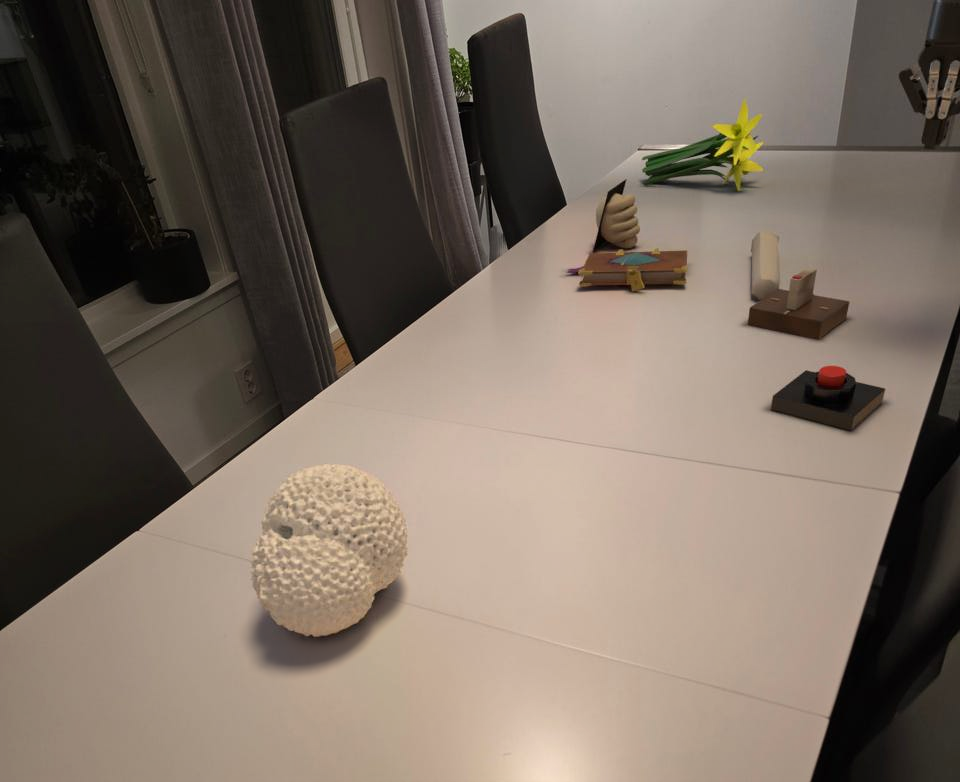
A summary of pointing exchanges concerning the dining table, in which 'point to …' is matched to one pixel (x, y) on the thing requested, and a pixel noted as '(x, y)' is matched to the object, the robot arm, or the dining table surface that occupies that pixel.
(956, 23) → the robot arm
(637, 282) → the book
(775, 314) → the knob panel
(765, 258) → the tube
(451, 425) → the dining table surface
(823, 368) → the button
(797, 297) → the knob
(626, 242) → the decorative object
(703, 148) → the daffodil flowers
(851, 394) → the button box
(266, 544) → the cream bumpy rounded lump
